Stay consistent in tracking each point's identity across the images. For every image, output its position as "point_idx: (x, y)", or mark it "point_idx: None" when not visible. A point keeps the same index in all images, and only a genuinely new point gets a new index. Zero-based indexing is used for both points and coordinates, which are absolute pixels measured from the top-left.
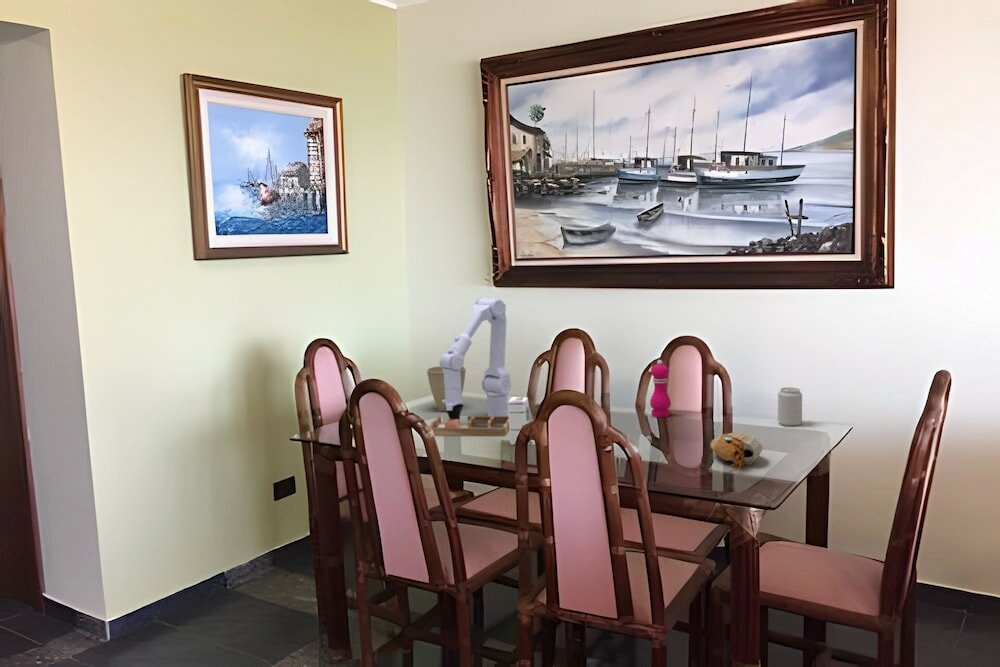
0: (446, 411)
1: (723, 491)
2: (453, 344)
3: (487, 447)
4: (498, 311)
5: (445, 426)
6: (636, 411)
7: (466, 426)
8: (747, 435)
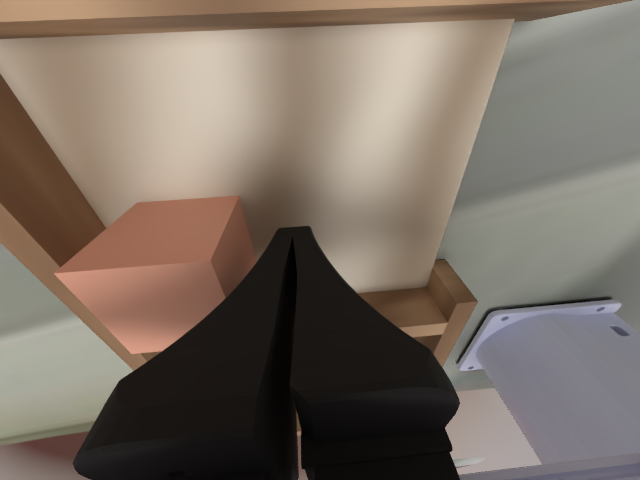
0: (157, 356)
1: None
2: None
3: (70, 400)
4: None
5: (99, 244)
6: (457, 466)
7: (357, 279)
8: None
